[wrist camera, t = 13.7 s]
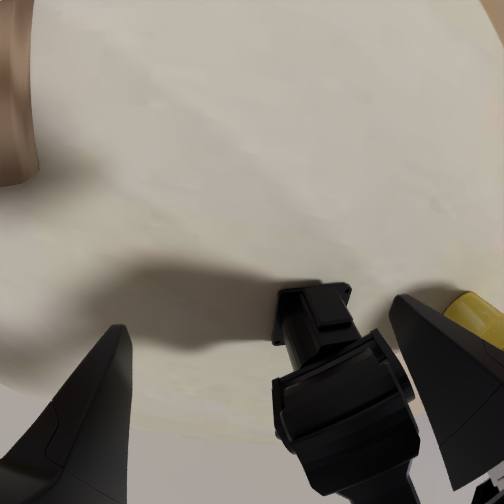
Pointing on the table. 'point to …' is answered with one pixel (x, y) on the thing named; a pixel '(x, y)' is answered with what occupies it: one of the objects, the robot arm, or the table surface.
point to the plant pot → (478, 318)
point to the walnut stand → (16, 94)
